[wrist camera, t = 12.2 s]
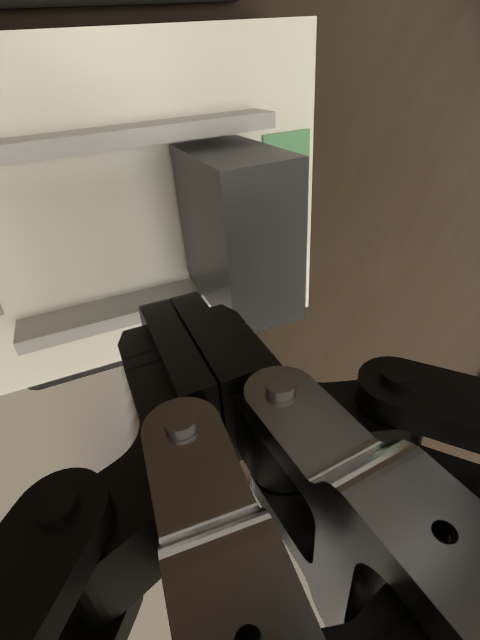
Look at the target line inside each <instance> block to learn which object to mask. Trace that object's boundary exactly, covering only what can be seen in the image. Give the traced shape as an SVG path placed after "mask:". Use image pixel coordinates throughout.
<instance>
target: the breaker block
mask: <svg viewBox="0 0 480 640" xmlns="http://www.w3.org/2000/svg"><path fill="white" fill-rule="evenodd" d="M316 26H317V16H304V17H282V18H261V19H239V20H218V21H196V22H175V23H153V24H132V25H110V26H89V27H67V28H46V29H24V30H3V31H0V396H1V395H5V394H8V393H12V392H15V391H19V390H22V389H25V388H29V387H32V386H36V385H39V384H43V383H46V382H50V381H53V380H56V379H60V378H63V377H67V376H70V375H74V374H77V373H81V372H84V371H87V370H91V369H94V368H98V367H101V366H105V365H108V364H112V363H115V362H118V361H122V359H121V356H120V352H119V349H118V342H119V340H120V337H121V334H122V332H123V331H125V330H128V329H132V328H136V327H139V326H142V323H141V318H140V314H139V308H138V306H141V305H145V304H148V303H152V302H156V301H160V300H164V299H168V300H169V298H171V297H175V296H179V295H183V294H187V293H191V292H195V291H197V292H198V293H199V294H200V295H201V297H202V298H203V299H204V301H205V302H206V303H207V305H208V306H209V307H211V305H210V304H209V302H208V301H207V300H206V298H205V297H204V296H203V294H202V293H201V291H200V290H199V289H198V287H197V286H196V285H195V283H194V282H193V281H192V279H191V278H190V276H189V273H188V267H187V260H186V253H185V247H184V240H183V234H182V227H181V221H180V214H179V207H178V201H177V194H176V188H175V181H174V175H173V168H172V162H171V155H170V148H169V144H173V143H180V142H187V141H195V140H202V139H209V138H216V137H224V136H231V135H239V136H242V137H246V138H249V139H252V140H256V141H259V142H263V143H266V144H269V145H273V146H276V147H279V148H283V149H286V150H290V151H293V152H296V153H300V154H303V155H306V156H309V182H308V222H307V262H306V302H305V307H308V296H309V262H310V229H311V195H312V161H313V127H314V93H315V60H316Z"/></svg>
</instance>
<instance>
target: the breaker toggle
mask: <svg viewBox="0 0 480 640" xmlns="http://www.w3.org/2000/svg"><path fill="white" fill-rule="evenodd" d="M169 148H170V155H171V162H172V168H173V175H174V181H175V188H176V194H177V201H178V207H179V214H180V221H181V227H182V234H183V240H184V247H185V253H186V260H187V267H188V273H189V276H190V278H191V279H192V281H193V282H194V283H195V285H196V286H197V287H198V289H199V290H200V291H201V293H202V294H203V296H204V297H205V298H206V300H207V301H208V302H209V304H210V305H211V307H213V306H216V305H220V304H222V305H224V306H226V307H228V308H231V309H233V310H235V311H237V312H238V314H239V315H240V316H241V317H242V318H243V319H244V321H245V322H246V325H249V327H250V328H251V329H252V330H253V332H254V333H255V332H258V331H262V330H265V329H268V328H272V327H275V326H279V325H282V324H285V323H289V322H292V321H295V320H299V319H302V318H305V302H306V262H307V222H308V182H309V156H306V155H303V154H300V153H296V152H293V151H290V150H286V149H283V148H279V147H276V146H273V145H269V144H266V143H263V142H259V141H256V140H252V139H249V138H246V137H242V136H239V135H231V136H224V137H216V138H209V139H202V140H195V141H187V142H180V143H173V144H169Z"/></svg>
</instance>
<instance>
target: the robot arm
mask: <svg viewBox="0 0 480 640" xmlns="http://www.w3.org/2000/svg"><path fill="white" fill-rule="evenodd" d="M138 308H139V314H140V318H141V323H142V326H139V327H136V328H132V329H128V330H125V331H123V332H122V334H121V337H120V340H119V342H118V349H119V352H120V356H121V359H122V363H123V366H124V370H125V373H126V377H127V380H128V384H129V387H130V391H131V394H132V398H133V401H134V405H135V408H136V411H137V415H138V418H139V421H140V428H139V432H138V435H137V437H136V439H135V441H134V443H133V444H132V446H131V447H130V448H129V449H128V451H127V452H126V453H125V454H124V455H122V456H121V457H120V458H119V459H117V460H116V461H115V462H113V463H112V464H110V465H109V466H108V467H106V468H105V469H103V470H102V471H100V472H99V473H96V472H94V471H92V470H89V469H86V468H68V469H63V470H60V471H56V472H54V473H52V474H49V475H47V476H45V477H44V478H42V479H40V480H39V481H37V482H36V483H35V484H34V485H32V486H31V487H30V488H29V489H27V490H26V491H25V492H24V493H23V495H22V496H21V497H20V498H19V499H18V501H17V502H16V503H15V504H14V506H13V507H12V508H11V509H10V511H9V512H8V513H7V515H6V516H5V517H4V519H3V520H2V521H1V523H0V640H127V639H128V636H129V634H130V631H131V629H132V626H133V624H134V621H135V619H136V616H137V614H138V611H139V609H140V606H141V603H142V600H143V595H144V594H145V593H146V592H147V591H148V590H149V589H150V588H151V587H152V586H153V585H154V584H155V583H157V582H158V581H159V580H160V579H161V578H162V583H163V589H164V596H165V602H166V608H167V614H168V620H169V626H170V631H171V638H172V640H480V464H477V463H474V462H470V461H467V460H464V459H461V458H458V457H455V456H452V455H449V454H446V453H443V452H440V451H437V450H434V449H431V448H428V447H425V446H422V445H421V442H422V438H423V436H424V437H427V438H431V439H434V440H437V441H440V442H443V443H446V444H449V445H453V446H456V447H459V448H462V449H465V450H468V451H471V452H475V453H478V454H480V377H477V376H473V375H469V374H465V373H461V372H457V371H453V370H449V369H445V368H440V367H436V366H432V365H428V364H424V363H420V362H416V361H412V360H408V359H404V358H399V357H391V356H388V357H377V358H373V359H371V360H369V361H367V362H365V363H364V364H363V365H362V366H361V368H360V369H359V373H358V380H351V381H340V382H327V383H320V382H316V381H315V380H314V379H313V378H312V377H311V376H309V375H308V374H307V373H305V372H304V371H302V370H299V369H297V368H293V367H289V366H282V365H281V363H280V362H279V361H278V360H277V359H276V358H275V356H274V355H273V354H272V353H271V352H270V350H269V349H268V348H267V347H266V346H265V344H264V343H263V342H262V341H261V340H260V339H259V337H258V336H257V335H256V334H254V332H253V330H252V329H251V328H250V327H249V325H246V322H245V321H244V319H243V318H242V317H241V316H240V315H239V314H238V312H237V311H235V310H233V309H231V308H228V307H226V306H224V305H222V304H220V305H216V306H213V307H209V306H208V305H207V303H206V302H205V301H204V299H203V298H202V297H201V295H200V294H199V293H198V292H197V291H195V292H191V293H187V294H183V295H179V296H175V297H171V298H169V300H168V299H164V300H160V301H156V302H152V303H148V304H145V305H141V306H138ZM240 460H244V462H245V464H246V466H247V468H248V469H249V471H250V482H251V488H252V491H253V492H254V495H255V496H256V498H257V499H258V501H259V503H260V504H261V506H262V508H260V507H259V506H258V504H257V502H256V500H255V498H254V496H253V494H252V491H251V489H250V486H249V484H248V481H247V479H246V477H245V474H244V472H243V469H242V467H241V465H240V462H239V461H240ZM282 540H283V541H284V543H285V544H286V546H287V547H288V549H289V551H290V552H291V554H292V555H293V557H294V559H295V561H296V562H297V563H298V565H299V567H300V568H301V570H302V572H303V574H304V576H305V578H306V581H307V583H308V586H309V589H310V592H311V596H312V599H313V601H314V604H315V606H316V608H317V611H318V613H319V615H320V617H321V618H322V620H323V622H324V624H325V626H326V627H324V628H321V627H320V625H319V623H318V621H317V618H316V616H315V614H314V611H313V609H312V607H311V605H310V602H309V600H308V598H307V595H306V593H305V591H304V589H303V586H302V584H301V582H300V580H299V577H298V575H297V573H296V570H295V568H294V566H293V563H292V561H291V559H290V557H289V554H288V552H287V550H286V548H285V545H284V543H283V541H282Z"/></svg>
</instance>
